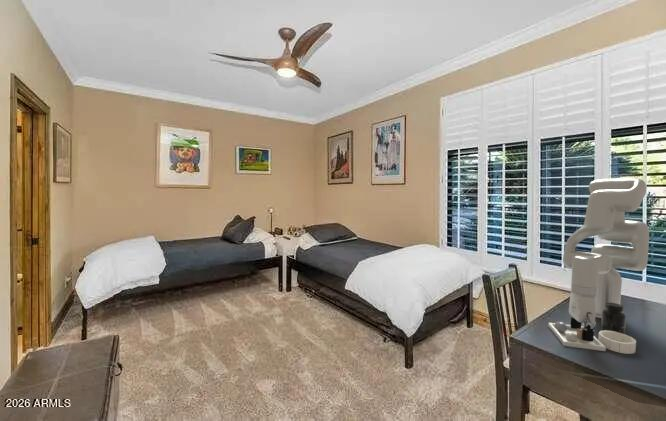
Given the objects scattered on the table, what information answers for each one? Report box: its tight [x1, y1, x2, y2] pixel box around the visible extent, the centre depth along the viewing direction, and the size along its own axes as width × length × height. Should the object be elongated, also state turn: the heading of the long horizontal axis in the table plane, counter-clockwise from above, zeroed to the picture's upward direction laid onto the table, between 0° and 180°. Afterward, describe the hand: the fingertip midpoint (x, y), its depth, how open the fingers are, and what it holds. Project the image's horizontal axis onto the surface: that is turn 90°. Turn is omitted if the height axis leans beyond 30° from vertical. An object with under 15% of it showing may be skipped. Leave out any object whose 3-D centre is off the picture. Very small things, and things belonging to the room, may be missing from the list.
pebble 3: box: [577, 328, 582, 339], centre depth 113 cm, size 4×4×4 cm
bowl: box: [597, 330, 637, 355], centre depth 108 cm, size 10×10×4 cm
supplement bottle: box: [600, 302, 627, 335], centre depth 117 cm, size 7×7×12 cm
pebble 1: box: [554, 320, 567, 332], centre depth 119 cm, size 4×4×4 cm
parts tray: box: [548, 322, 607, 352], centre depth 114 cm, size 16×12×2 cm
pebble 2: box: [565, 333, 577, 342], centre depth 110 cm, size 3×3×3 cm
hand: (581, 334), depth 113 cm, fingers open, 9 cm apart
